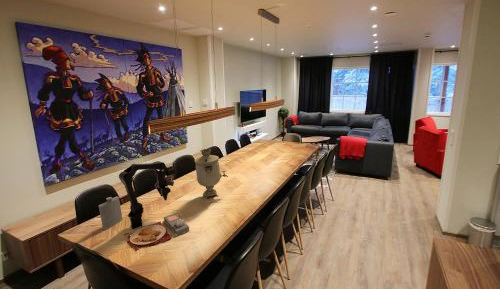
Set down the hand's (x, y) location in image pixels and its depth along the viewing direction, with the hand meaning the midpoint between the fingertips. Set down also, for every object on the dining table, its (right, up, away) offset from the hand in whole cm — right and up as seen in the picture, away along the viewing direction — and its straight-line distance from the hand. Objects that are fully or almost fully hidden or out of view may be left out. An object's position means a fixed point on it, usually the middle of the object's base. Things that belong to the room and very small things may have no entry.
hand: (163, 198), depth 196 cm
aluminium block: (+17, -16, -21) cm, 32 cm away
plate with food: (-1, -20, -28) cm, 34 cm away
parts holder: (+14, -15, -16) cm, 26 cm away
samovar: (+33, -4, +30) cm, 45 cm away
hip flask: (-32, -16, -10) cm, 37 cm away
